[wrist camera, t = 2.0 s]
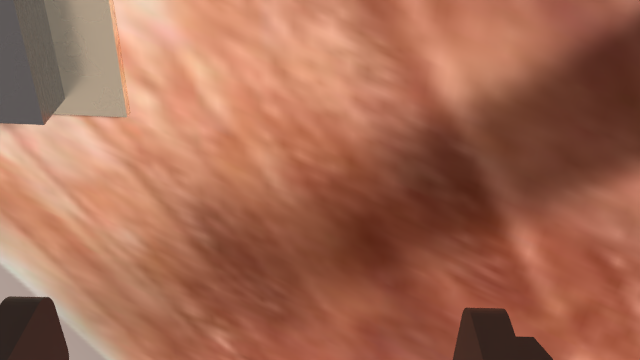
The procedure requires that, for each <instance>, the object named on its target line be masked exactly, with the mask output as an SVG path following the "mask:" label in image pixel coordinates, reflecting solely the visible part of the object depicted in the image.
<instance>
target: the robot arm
mask: <svg viewBox="0 0 640 360" xmlns="http://www.w3.org/2000/svg"><path fill="white" fill-rule="evenodd" d="M0 360H69V353H68V348H67V345H66V341H65V338H64V335H63V332H62V329H61V325H60V322H59V318H58V315H57V312H56V309H55V305H54V303H53V301H52V300H51V299H50V298H49V297H7V298H6V299H4V300H3V301H2V303H1V304H0ZM453 360H553V359H552V358H551V356H550V355H549V354H548V353H547V352H546V351H545V350H544V348H543V347H542V346H541V345H540V344H539V343H538V342H537V341H536V339H535V338H534V337H516V336H515V333H514V330H513V327H512V325H511V322H510V319H509V316H508V313H507V312H506V310H505V309H497V308H465V309H464V311H463V314H462V318H461V323H460V328H459V333H458V337H457V342H456V347H455V352H454V357H453Z"/></svg>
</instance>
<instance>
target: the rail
mask: <svg viewBox="0 0 640 360" xmlns="http://www.w3.org/2000/svg"><path fill="white" fill-rule="evenodd" d="M129 113H130V109H129V102H128V96H127V89H126V83H125V76H124V70H123V63H122V57H121V50H120V43H119V37H118V30H117V24H116V17H115V11H114V4H113V0H0V123H13V124H36V125H44V124H45V123H46V122H47V121H48V119H49V118H50V117H51V116H52V114H61V115H84V116H108V117H128V115H129Z"/></svg>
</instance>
